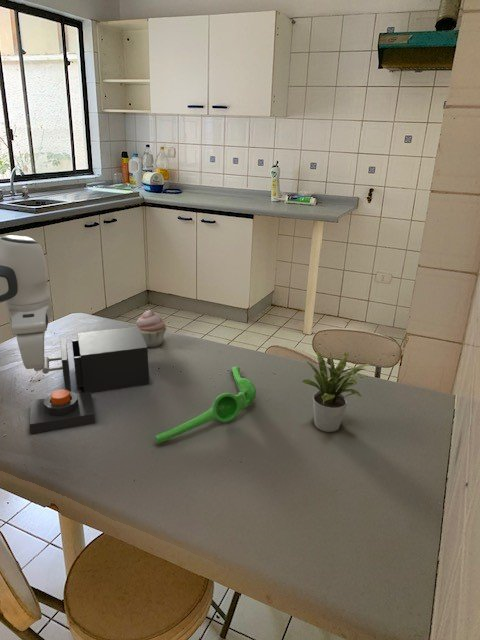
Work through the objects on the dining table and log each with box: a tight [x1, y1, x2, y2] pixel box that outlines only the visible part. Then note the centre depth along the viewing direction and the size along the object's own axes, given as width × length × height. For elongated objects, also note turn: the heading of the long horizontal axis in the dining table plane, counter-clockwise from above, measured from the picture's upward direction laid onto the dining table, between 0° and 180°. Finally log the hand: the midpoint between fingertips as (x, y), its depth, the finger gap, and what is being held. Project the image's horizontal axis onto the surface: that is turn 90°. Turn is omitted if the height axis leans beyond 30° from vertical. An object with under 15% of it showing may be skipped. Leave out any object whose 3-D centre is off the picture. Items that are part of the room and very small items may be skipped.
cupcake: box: [133, 309, 168, 348], centre depth 128 cm, size 9×9×10 cm
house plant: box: [300, 349, 372, 433], centre depth 92 cm, size 14×14×16 cm
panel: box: [28, 391, 96, 435], centre depth 95 cm, size 12×9×4 cm
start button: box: [50, 388, 71, 405], centre depth 94 cm, size 4×4×2 cm
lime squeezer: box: [154, 366, 257, 444], centre depth 99 cm, size 34×12×6 cm, turn 154°
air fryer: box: [76, 326, 150, 394], centre depth 110 cm, size 15×13×10 cm
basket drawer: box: [41, 338, 83, 392], centre depth 108 cm, size 18×11×8 cm, turn 111°
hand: (38, 367), depth 105 cm, fingers closed, pressing on basket drawer
